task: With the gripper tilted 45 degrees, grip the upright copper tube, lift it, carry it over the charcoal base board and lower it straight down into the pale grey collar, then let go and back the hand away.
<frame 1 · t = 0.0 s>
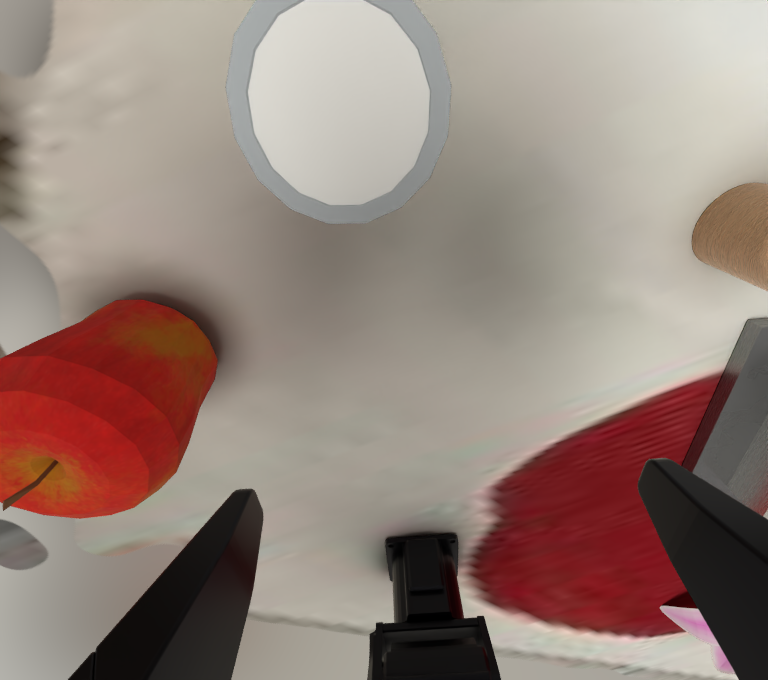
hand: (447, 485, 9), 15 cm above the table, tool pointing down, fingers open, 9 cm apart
shot glass: (352, 113, 18), on the table
apple: (167, 338, 24), on the table
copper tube: (735, 226, 21), on the table
lily: (707, 586, 40), on the table
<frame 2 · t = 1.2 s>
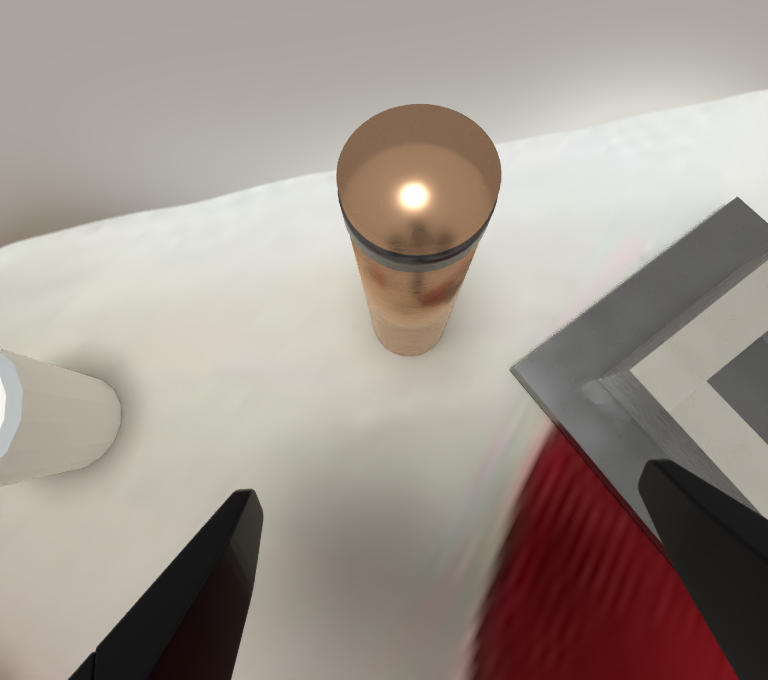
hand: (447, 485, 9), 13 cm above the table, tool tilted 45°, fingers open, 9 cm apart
shot glass: (79, 422, 23), on the table
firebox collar: (735, 402, 22), on the table
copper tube: (408, 321, 24), on the table
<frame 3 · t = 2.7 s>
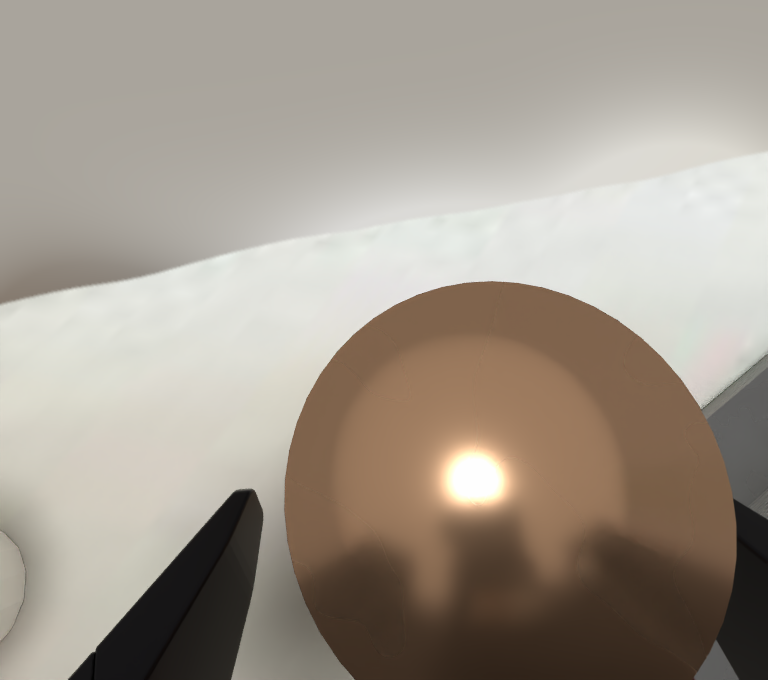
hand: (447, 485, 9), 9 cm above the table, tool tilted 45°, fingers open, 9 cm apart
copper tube: (423, 449, 17), on the table
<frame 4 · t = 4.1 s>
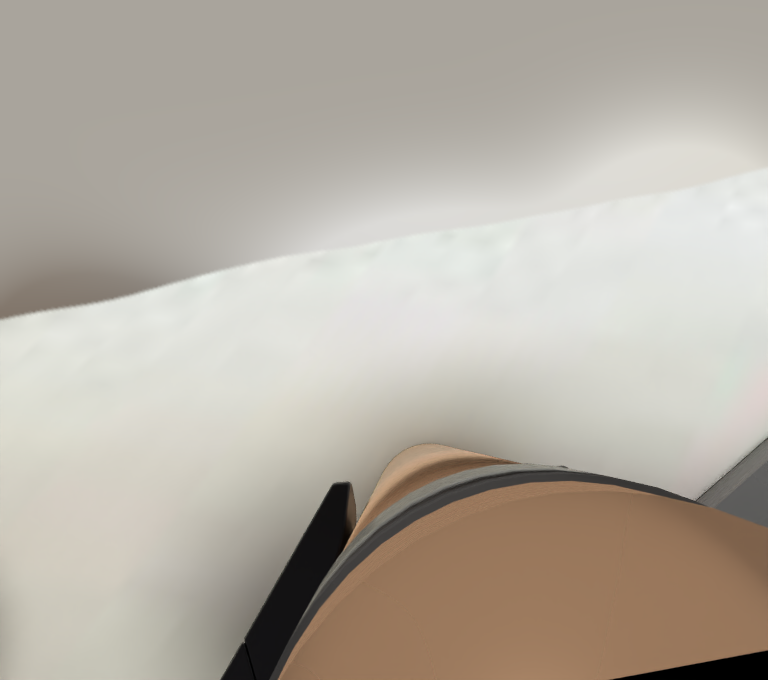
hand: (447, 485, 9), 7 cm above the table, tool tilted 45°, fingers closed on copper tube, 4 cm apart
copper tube: (431, 500, 15), on the table, touching gripper
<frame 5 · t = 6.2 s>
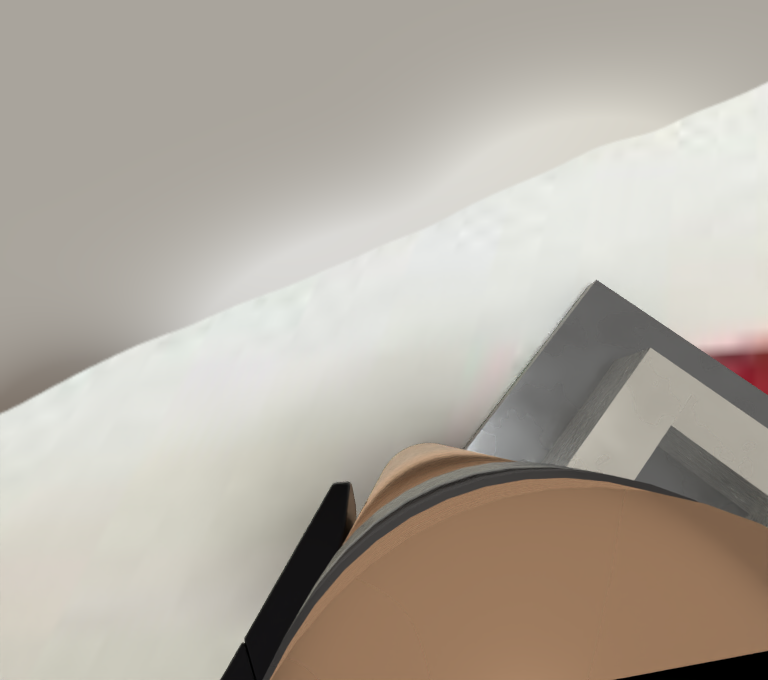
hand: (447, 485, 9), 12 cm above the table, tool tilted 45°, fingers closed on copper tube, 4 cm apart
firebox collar: (641, 516, 20), on the table
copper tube: (430, 499, 15), point 5 cm above the table, touching gripper
when the fingers open (9 cm above the table, at t = 8.6 s): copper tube drops 1 cm, resting on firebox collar.
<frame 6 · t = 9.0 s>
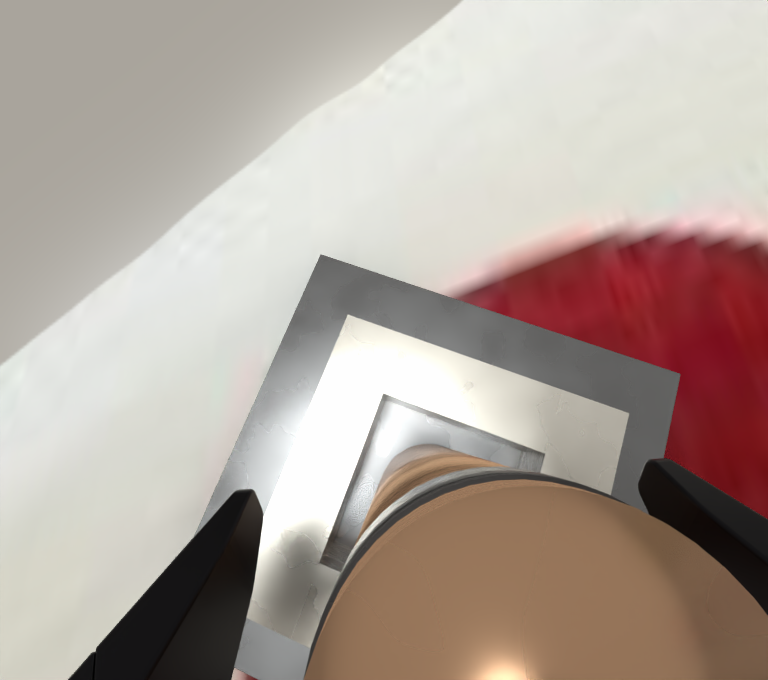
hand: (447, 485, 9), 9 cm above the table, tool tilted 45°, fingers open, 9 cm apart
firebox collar: (427, 491, 18), on the table
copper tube: (428, 496, 17), point 1 cm above the table, touching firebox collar
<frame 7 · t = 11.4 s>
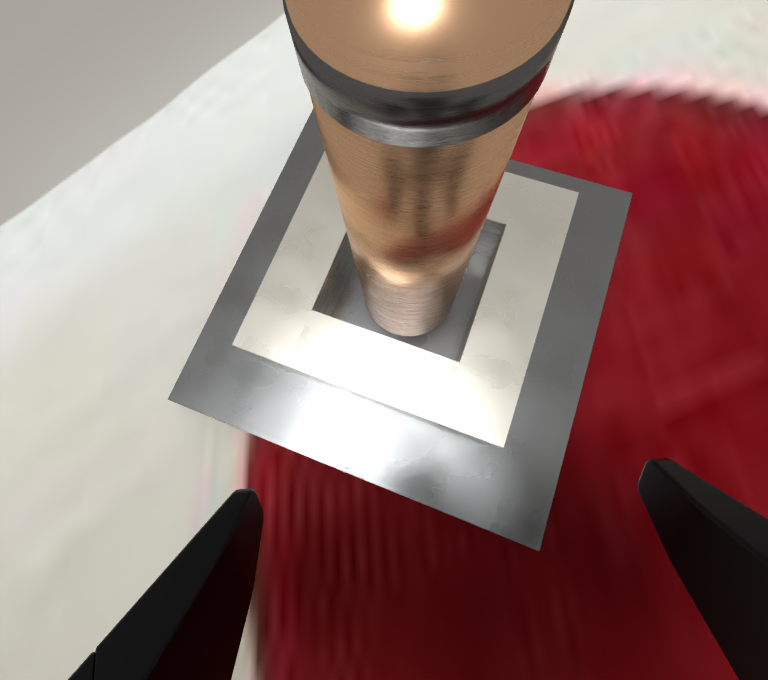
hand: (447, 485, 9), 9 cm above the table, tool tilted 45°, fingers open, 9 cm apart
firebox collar: (408, 299, 20), on the table
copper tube: (408, 293, 19), point 1 cm above the table, touching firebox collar
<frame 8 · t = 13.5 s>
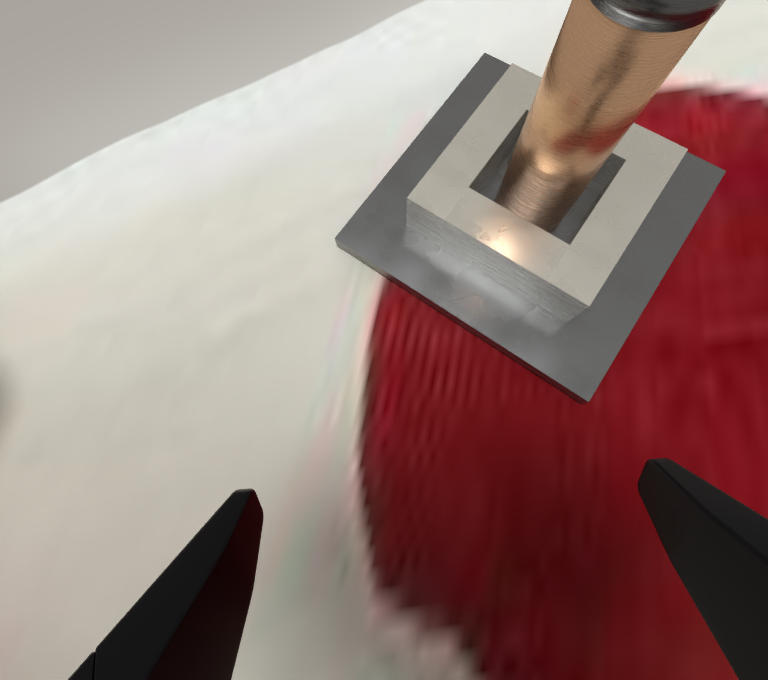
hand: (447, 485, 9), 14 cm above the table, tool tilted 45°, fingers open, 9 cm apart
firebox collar: (525, 213, 25), on the table
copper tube: (529, 205, 24), point 1 cm above the table, touching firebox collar
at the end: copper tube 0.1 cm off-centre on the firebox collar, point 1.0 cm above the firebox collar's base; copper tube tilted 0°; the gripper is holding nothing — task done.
